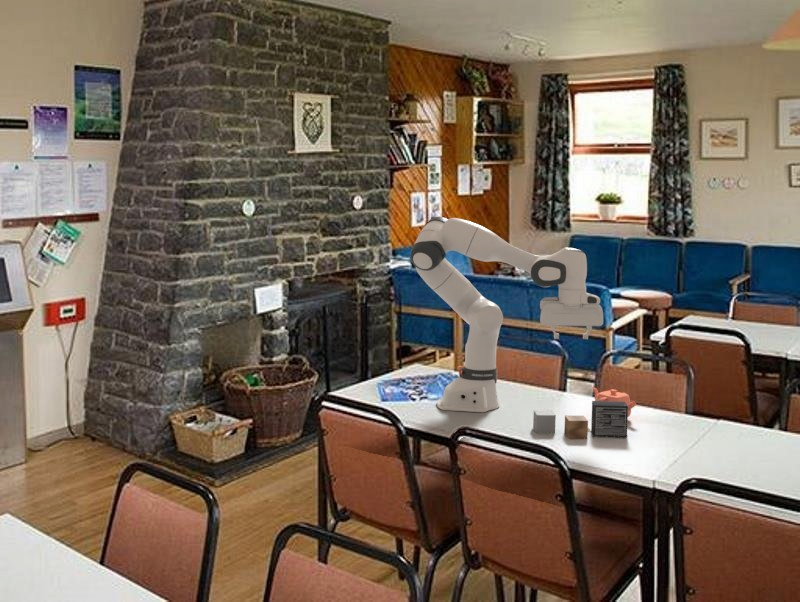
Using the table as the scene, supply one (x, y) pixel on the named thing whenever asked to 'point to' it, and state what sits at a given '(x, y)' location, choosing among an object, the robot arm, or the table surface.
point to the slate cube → (544, 421)
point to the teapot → (614, 397)
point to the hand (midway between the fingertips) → (570, 339)
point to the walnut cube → (576, 427)
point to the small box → (609, 419)
